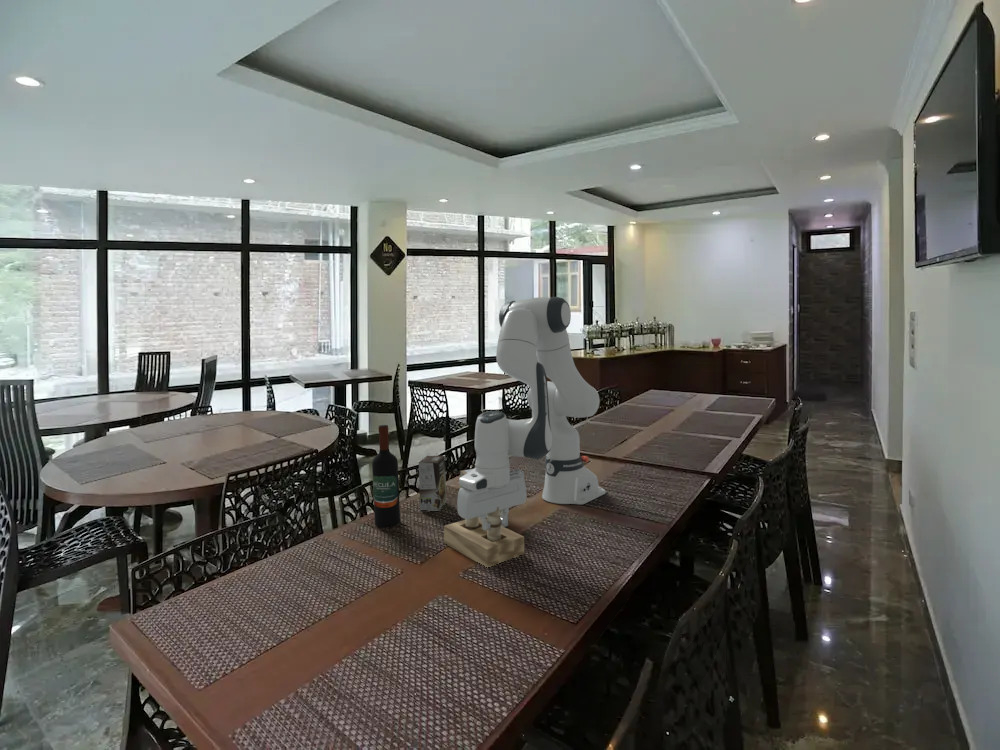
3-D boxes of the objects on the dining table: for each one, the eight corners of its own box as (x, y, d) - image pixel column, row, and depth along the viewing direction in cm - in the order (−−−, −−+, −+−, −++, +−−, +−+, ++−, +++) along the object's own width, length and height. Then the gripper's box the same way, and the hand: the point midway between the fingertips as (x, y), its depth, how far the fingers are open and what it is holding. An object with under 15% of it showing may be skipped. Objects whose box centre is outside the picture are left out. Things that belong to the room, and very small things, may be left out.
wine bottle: (404, 519, 179) (400, 423, 175) (392, 529, 172) (388, 429, 168) (383, 517, 181) (378, 422, 178) (370, 526, 174) (365, 427, 171)
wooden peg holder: (479, 532, 168) (478, 498, 167) (524, 554, 152) (523, 518, 151) (444, 543, 161) (443, 508, 160) (487, 568, 145) (486, 529, 144)
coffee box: (438, 512, 185) (437, 462, 183) (419, 511, 186) (417, 462, 184) (447, 502, 194) (445, 455, 192) (428, 501, 195) (426, 454, 193)
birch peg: (495, 538, 155) (494, 501, 153) (504, 542, 152) (503, 505, 151) (484, 541, 153) (483, 504, 151) (493, 546, 150) (492, 508, 148)
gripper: (516, 465, 159) (517, 514, 160) (453, 480, 146) (454, 533, 148) (531, 470, 154) (532, 520, 156) (467, 486, 141) (469, 540, 143)
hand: (493, 526), depth 152 cm, fingers closed on birch peg, 3 cm apart
